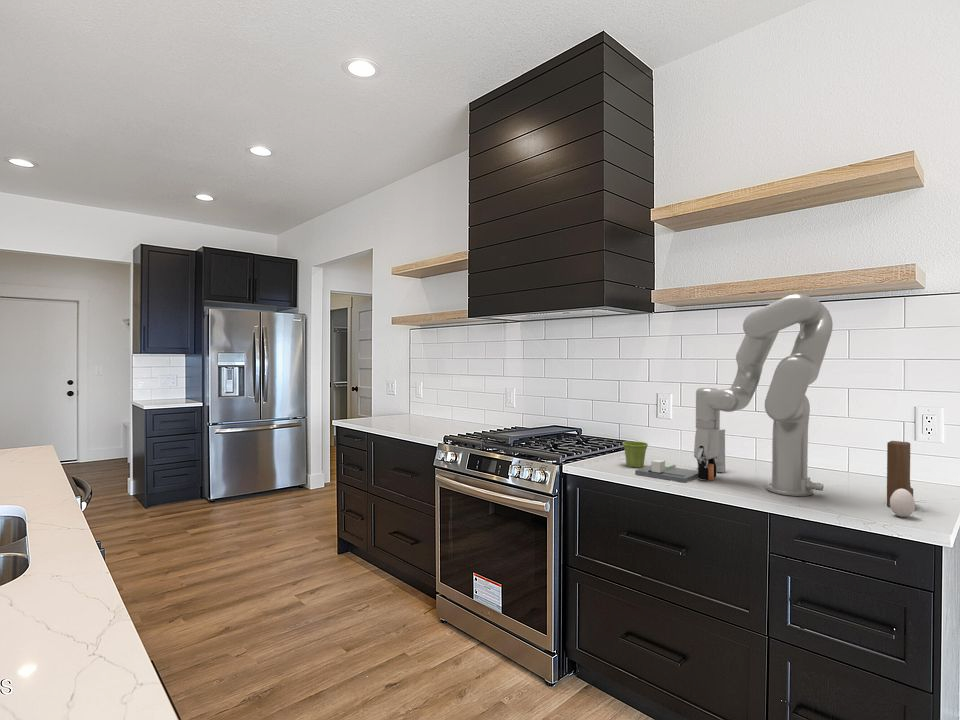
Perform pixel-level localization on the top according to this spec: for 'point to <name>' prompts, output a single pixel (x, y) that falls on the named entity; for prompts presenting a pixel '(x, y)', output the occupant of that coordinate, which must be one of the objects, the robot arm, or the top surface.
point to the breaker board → (669, 474)
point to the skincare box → (720, 452)
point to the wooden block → (898, 468)
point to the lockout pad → (669, 466)
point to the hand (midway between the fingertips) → (707, 477)
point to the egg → (902, 503)
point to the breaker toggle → (658, 466)
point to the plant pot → (635, 453)
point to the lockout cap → (710, 471)
